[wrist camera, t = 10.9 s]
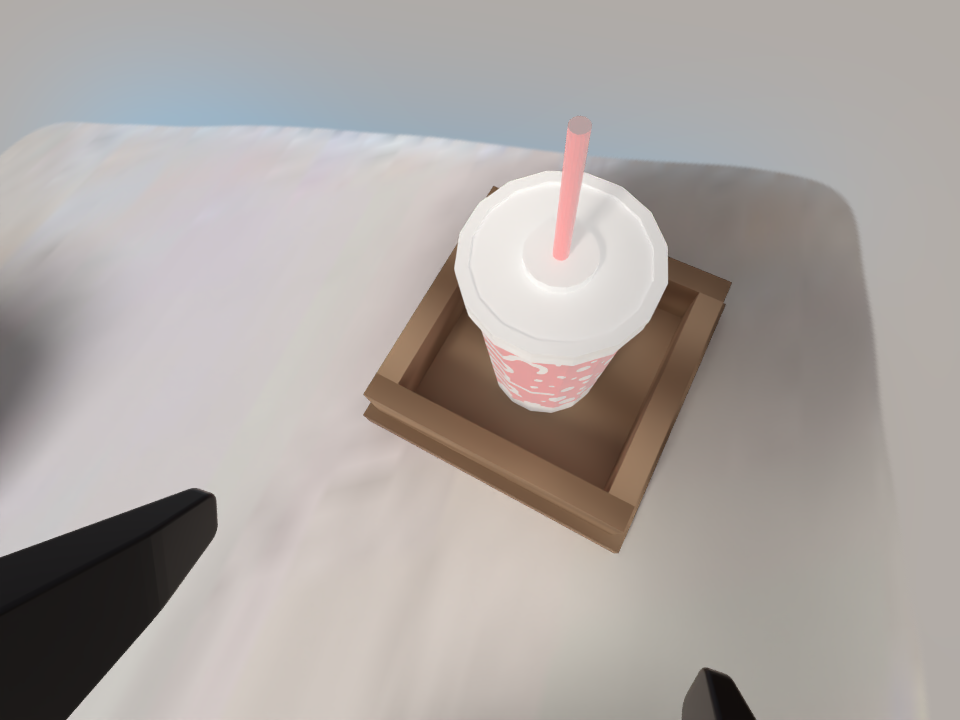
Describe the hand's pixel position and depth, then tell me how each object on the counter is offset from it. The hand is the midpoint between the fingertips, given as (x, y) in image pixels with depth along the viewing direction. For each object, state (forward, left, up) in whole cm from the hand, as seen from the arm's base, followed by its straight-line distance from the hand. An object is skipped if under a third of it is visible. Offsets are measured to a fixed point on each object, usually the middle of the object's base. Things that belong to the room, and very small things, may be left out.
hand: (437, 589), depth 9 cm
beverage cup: (+9, +2, -13) cm, 15 cm away
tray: (+9, +2, -13) cm, 16 cm away
